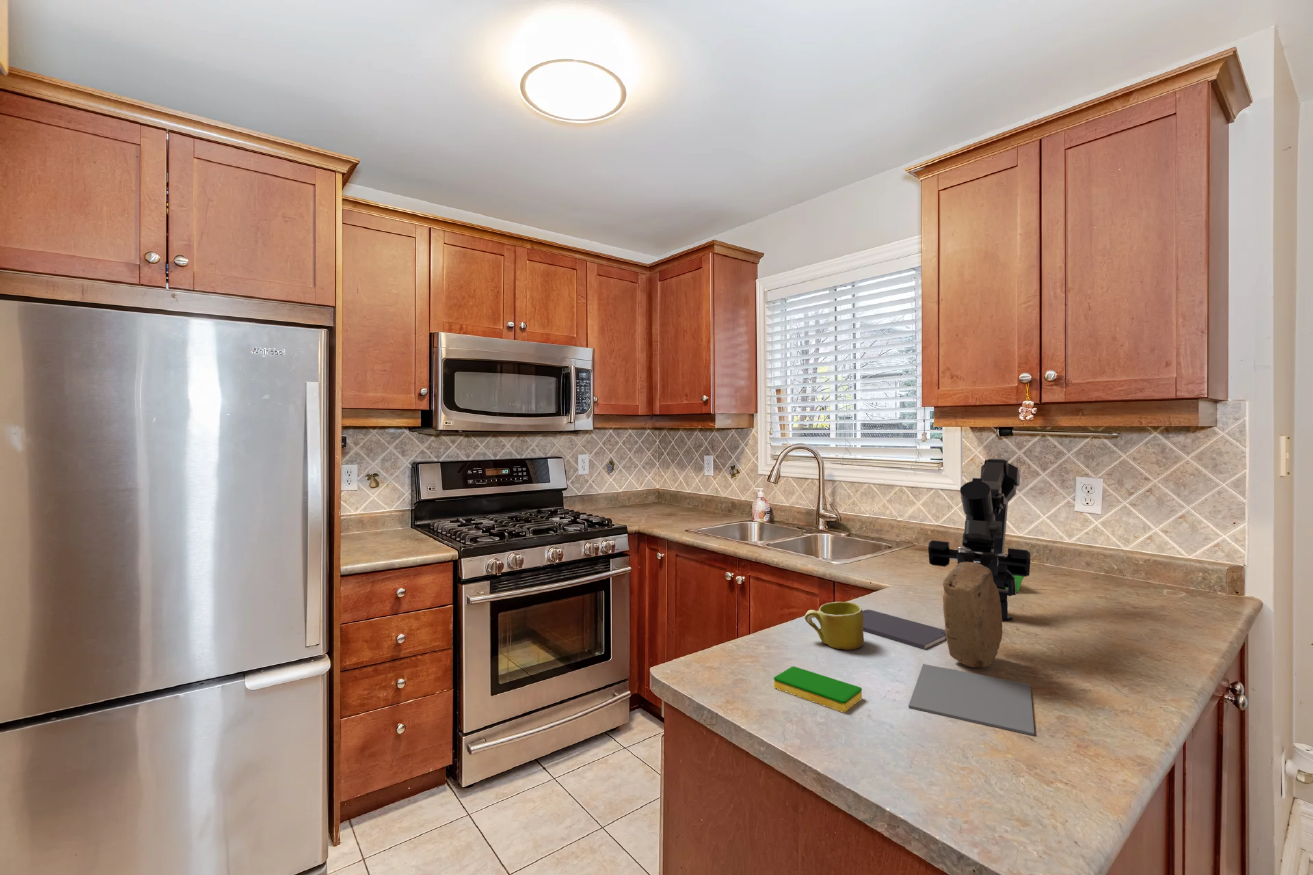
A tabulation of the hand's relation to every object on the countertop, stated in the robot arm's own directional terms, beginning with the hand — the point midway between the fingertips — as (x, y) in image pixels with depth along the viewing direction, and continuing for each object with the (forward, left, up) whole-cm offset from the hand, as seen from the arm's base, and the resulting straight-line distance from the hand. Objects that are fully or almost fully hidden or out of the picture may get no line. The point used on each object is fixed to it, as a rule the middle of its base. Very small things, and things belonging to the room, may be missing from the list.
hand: (975, 590), depth 120 cm
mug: (-12, -25, -15) cm, 31 cm away
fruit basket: (-50, +39, -15) cm, 65 cm away
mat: (+15, -10, -14) cm, 23 cm away
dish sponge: (+11, -37, -15) cm, 41 cm away
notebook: (-19, -8, -15) cm, 26 cm away
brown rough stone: (0, 0, -13) cm, 13 cm away
